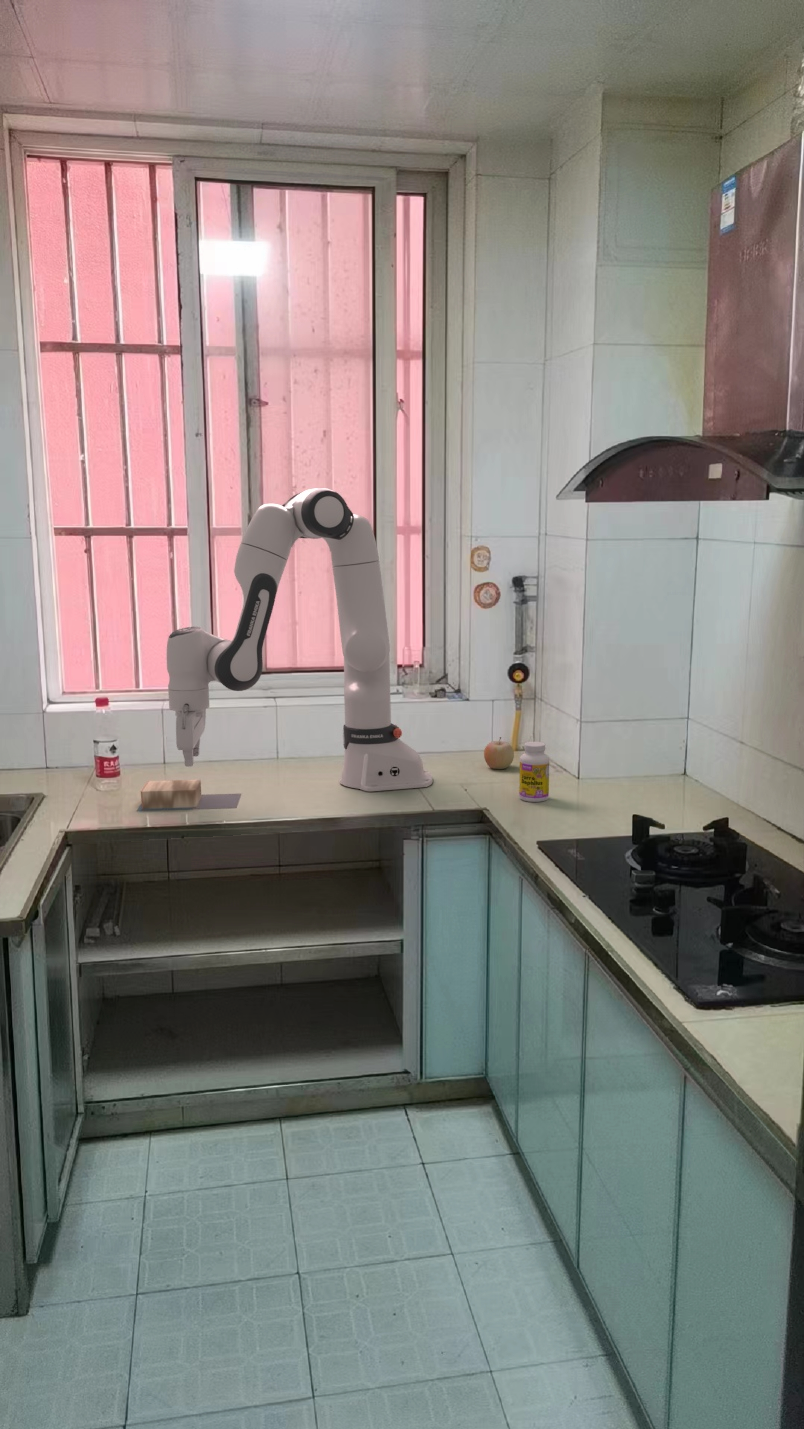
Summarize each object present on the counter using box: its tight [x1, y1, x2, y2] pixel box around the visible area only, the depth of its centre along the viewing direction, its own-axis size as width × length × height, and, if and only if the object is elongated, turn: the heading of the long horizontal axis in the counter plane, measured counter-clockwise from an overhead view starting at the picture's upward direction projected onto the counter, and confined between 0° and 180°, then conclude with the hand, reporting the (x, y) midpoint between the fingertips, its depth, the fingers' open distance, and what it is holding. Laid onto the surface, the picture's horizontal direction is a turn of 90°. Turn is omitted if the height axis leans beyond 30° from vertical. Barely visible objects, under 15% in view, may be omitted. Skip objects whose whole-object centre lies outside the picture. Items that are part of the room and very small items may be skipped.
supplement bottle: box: [518, 741, 550, 803], centre depth 241 cm, size 7×7×13 cm
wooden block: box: [140, 779, 202, 809], centre depth 241 cm, size 4×9×12 cm
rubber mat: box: [136, 793, 243, 812], centre depth 242 cm, size 22×12×1 cm, turn 93°
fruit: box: [483, 736, 515, 770], centre depth 270 cm, size 8×7×8 cm
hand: (192, 760), depth 240 cm, fingers open, 8 cm apart
